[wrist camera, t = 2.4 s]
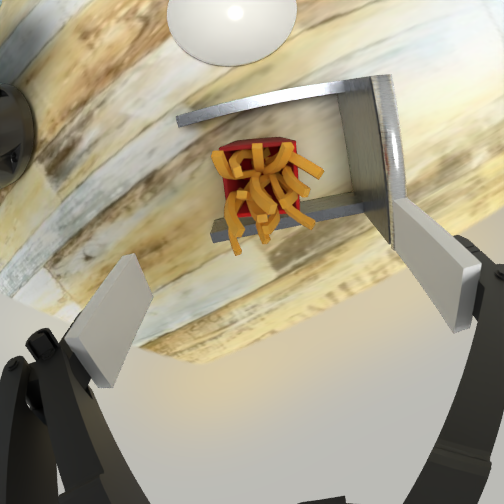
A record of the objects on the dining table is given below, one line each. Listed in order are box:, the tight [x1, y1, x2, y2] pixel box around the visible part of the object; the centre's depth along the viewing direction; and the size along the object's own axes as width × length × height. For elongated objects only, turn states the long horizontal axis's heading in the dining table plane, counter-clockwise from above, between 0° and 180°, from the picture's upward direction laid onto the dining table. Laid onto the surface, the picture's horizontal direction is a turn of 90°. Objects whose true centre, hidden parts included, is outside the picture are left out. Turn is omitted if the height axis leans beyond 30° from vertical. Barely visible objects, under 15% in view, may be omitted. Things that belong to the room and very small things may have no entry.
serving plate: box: [167, 0, 297, 66], centre depth 27 cm, size 14×14×1 cm
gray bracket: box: [176, 74, 407, 250], centre depth 29 cm, size 19×14×14 cm
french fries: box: [211, 137, 324, 256], centre depth 29 cm, size 9×8×15 cm
